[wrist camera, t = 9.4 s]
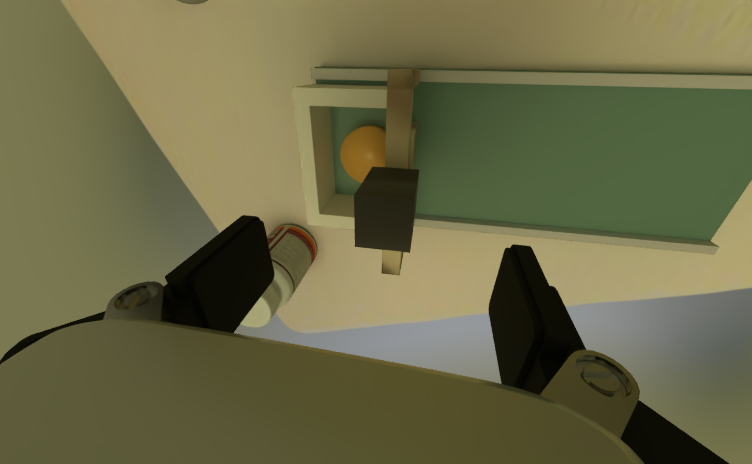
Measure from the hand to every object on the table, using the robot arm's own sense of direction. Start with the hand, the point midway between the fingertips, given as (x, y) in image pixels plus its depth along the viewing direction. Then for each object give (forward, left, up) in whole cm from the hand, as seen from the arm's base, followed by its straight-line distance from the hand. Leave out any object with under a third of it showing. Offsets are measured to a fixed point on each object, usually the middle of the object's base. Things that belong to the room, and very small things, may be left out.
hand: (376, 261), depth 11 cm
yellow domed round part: (0, -4, -18) cm, 19 cm away
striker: (+1, 0, -18) cm, 18 cm away
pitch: (+1, +9, -20) cm, 22 cm away
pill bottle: (+13, -14, -20) cm, 27 cm away
